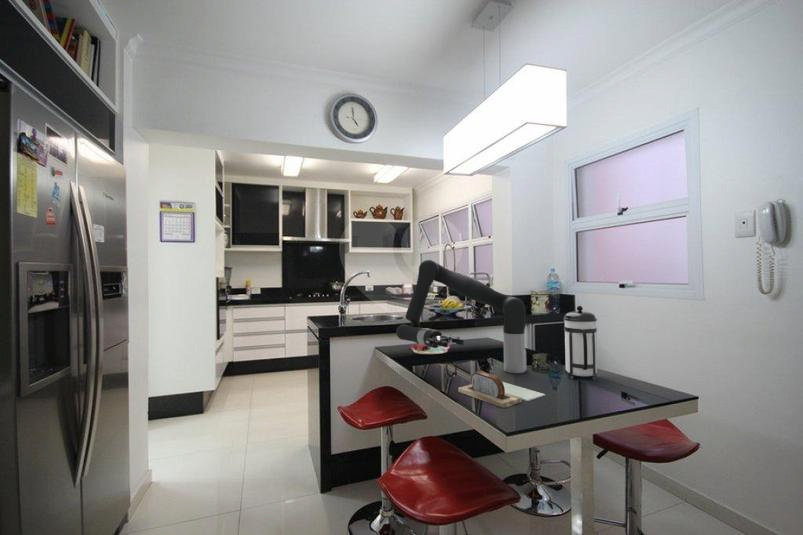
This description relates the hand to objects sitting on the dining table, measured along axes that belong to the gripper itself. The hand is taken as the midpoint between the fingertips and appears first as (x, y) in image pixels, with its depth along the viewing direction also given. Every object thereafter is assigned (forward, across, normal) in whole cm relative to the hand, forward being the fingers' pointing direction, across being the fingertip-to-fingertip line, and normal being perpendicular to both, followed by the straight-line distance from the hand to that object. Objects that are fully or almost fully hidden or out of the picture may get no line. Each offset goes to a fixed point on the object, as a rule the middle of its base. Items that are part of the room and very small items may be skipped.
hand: (455, 343), depth 148 cm
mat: (+18, +12, +16) cm, 27 cm away
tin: (+17, 0, +17) cm, 24 cm away
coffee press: (+24, +50, +16) cm, 58 cm away
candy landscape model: (-61, +37, +17) cm, 74 cm away
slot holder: (+17, 0, +16) cm, 24 cm away
